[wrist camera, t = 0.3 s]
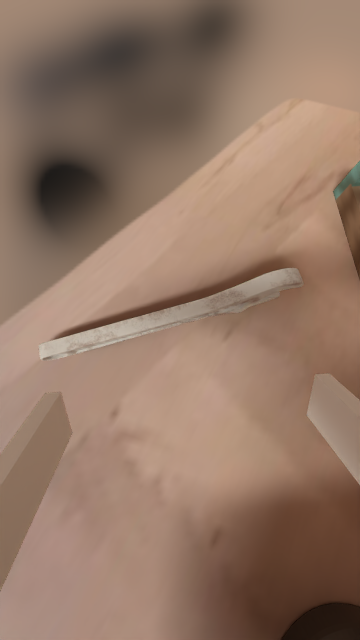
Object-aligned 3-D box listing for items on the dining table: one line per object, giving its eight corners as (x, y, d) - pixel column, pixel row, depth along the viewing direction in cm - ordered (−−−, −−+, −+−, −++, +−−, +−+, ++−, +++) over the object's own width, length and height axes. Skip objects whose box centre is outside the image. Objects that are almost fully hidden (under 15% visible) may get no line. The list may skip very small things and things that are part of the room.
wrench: (61, 348, 31) (279, 288, 30) (64, 362, 31) (284, 301, 30) (14, 342, 23) (307, 260, 22) (16, 360, 23) (315, 277, 22)
